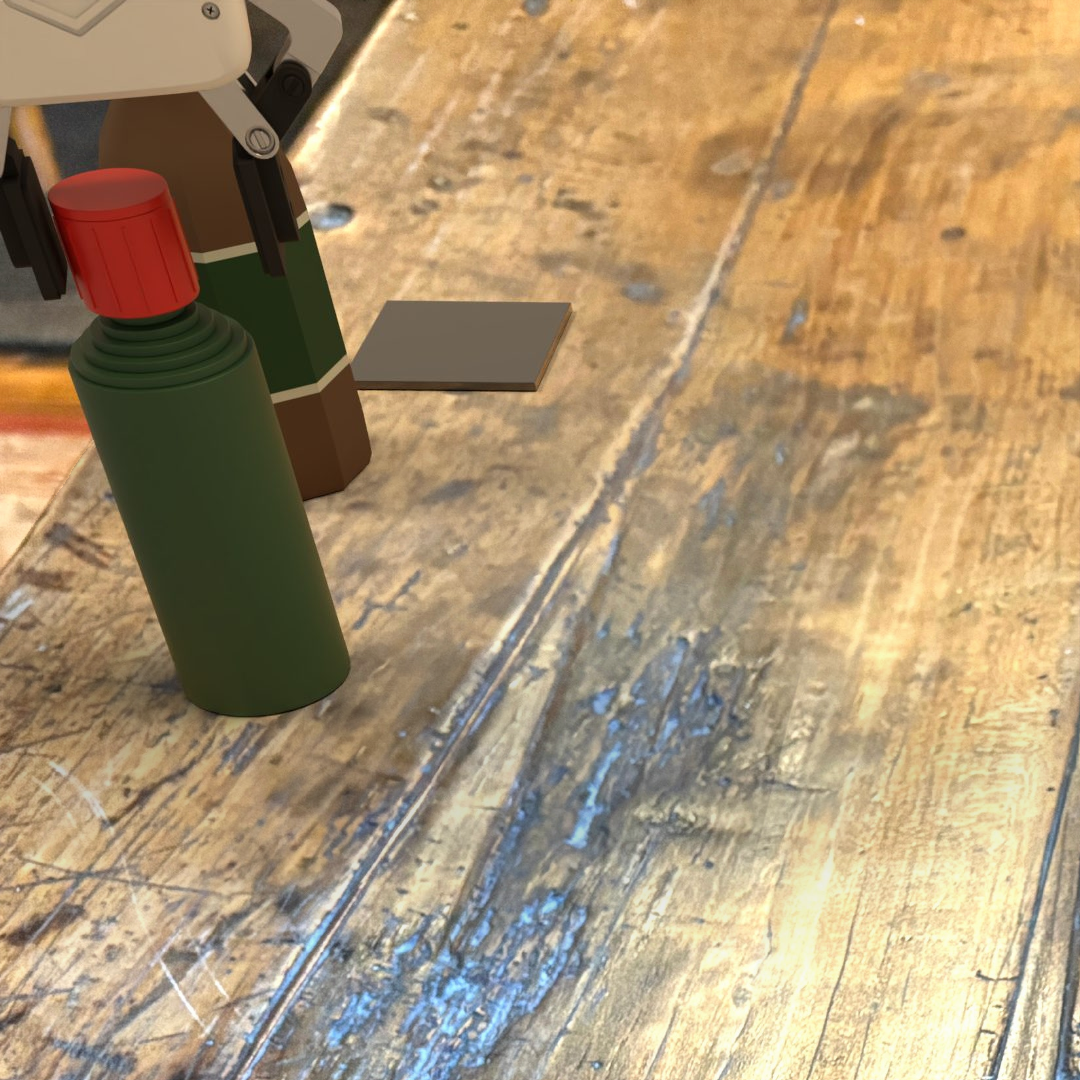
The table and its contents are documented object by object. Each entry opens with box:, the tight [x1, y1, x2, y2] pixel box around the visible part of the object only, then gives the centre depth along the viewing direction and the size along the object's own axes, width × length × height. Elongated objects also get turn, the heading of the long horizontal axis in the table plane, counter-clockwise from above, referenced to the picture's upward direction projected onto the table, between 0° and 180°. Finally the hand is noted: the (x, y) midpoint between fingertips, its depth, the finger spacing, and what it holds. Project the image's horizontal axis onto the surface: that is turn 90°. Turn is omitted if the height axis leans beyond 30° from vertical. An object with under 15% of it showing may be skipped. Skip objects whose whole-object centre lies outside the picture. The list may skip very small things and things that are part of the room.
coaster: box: [350, 299, 573, 392], centre depth 122 cm, size 9×9×1 cm
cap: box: [47, 168, 200, 319], centre depth 89 cm, size 4×4×4 cm
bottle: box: [67, 301, 352, 717], centre depth 95 cm, size 6×6×18 cm
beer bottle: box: [97, 91, 373, 501], centre depth 105 cm, size 8×8×24 cm
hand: (166, 269), depth 90 cm, fingers open, 6 cm apart
